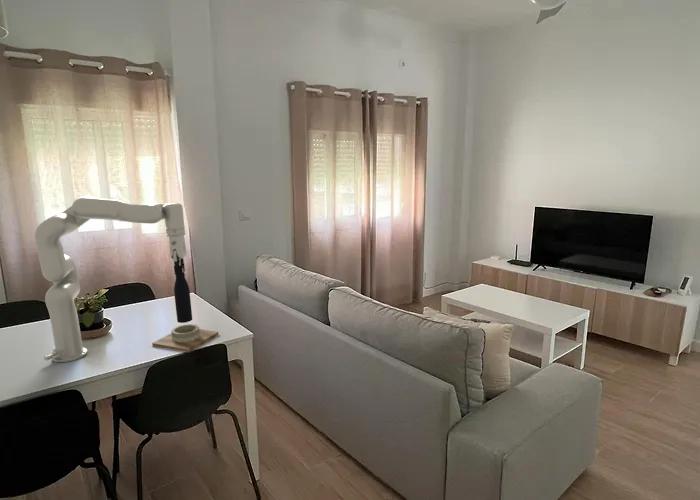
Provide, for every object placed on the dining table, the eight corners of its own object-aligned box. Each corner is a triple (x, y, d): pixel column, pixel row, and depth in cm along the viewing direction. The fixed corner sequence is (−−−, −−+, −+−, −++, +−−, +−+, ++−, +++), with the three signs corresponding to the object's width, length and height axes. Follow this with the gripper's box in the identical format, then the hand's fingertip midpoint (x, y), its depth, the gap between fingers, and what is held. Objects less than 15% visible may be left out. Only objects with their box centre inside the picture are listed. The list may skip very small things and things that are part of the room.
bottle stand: (188, 352, 185) (187, 340, 184) (152, 346, 192) (151, 334, 191) (218, 334, 203) (217, 323, 202) (184, 329, 210) (183, 319, 209)
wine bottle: (189, 322, 192) (182, 256, 186) (174, 323, 193) (167, 257, 186) (194, 317, 199) (188, 253, 193) (180, 317, 199) (173, 253, 193)
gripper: (180, 234, 180) (184, 277, 184) (188, 228, 196) (192, 268, 200) (161, 235, 179) (166, 278, 183) (171, 229, 195) (175, 268, 199)
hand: (179, 272), depth 191 cm, fingers closed on wine bottle, 3 cm apart
